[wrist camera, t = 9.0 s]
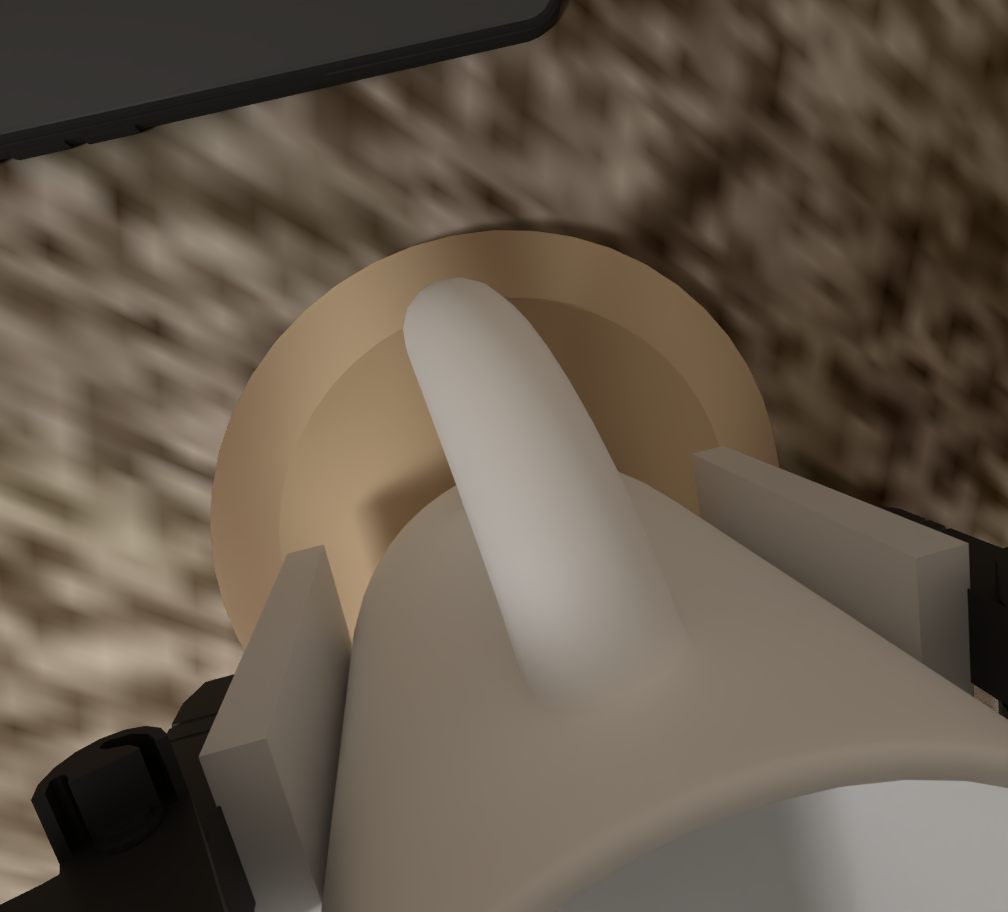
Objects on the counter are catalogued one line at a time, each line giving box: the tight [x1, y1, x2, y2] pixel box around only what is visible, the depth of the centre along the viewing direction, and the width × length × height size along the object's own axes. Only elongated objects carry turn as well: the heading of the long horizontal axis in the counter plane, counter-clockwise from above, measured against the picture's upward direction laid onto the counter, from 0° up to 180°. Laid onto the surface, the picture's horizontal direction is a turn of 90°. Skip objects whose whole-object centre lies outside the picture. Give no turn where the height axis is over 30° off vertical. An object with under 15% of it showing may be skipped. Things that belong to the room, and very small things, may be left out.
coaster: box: [210, 230, 779, 650], centre depth 16 cm, size 14×14×1 cm
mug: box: [321, 278, 1008, 912], centre depth 10 cm, size 12×8×10 cm
